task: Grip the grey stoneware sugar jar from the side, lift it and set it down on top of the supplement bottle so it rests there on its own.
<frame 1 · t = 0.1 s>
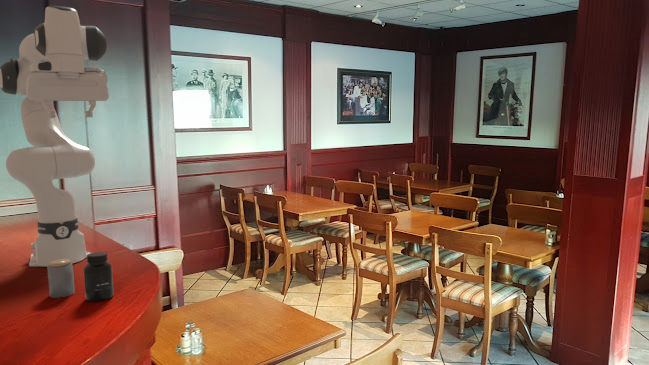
hand: (71, 117, 135), 48 cm above the bar counter, tool pointing down, fingers open, 8 cm apart
sugar jar: (62, 294, 132), on the bar counter
supplement bottle: (100, 298, 129), on the bar counter
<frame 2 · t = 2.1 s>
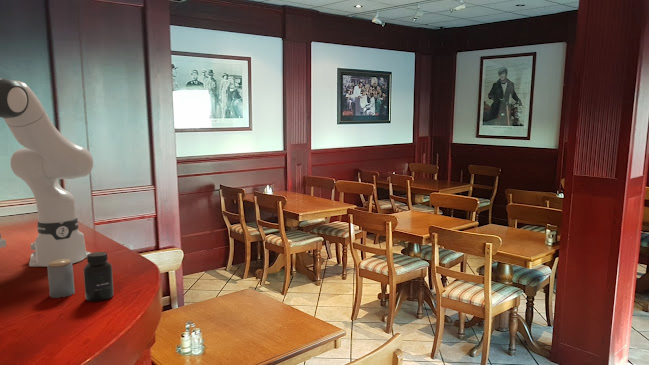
hand: (3, 239, 122), 18 cm above the bar counter, tool horizontal, fingers open, 8 cm apart
nothing on the bar counter moved.
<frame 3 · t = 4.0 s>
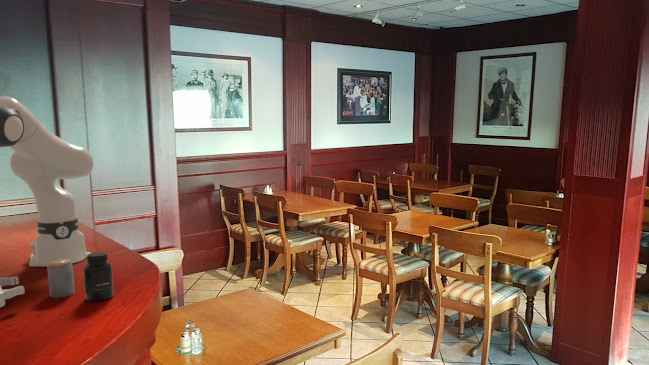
hand: (21, 284, 126), 5 cm above the bar counter, tool horizontal, fingers open, 8 cm apart
nothing on the bar counter moved.
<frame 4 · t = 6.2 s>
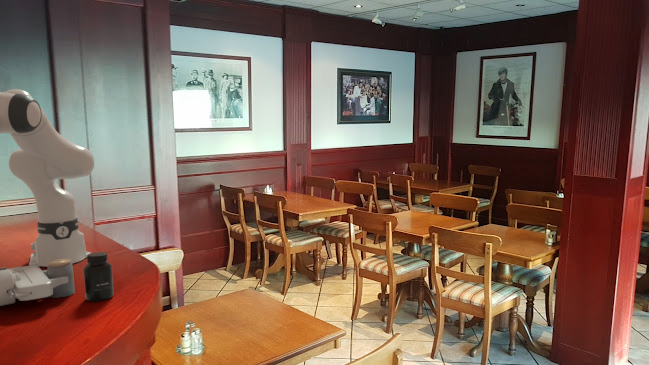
hand: (64, 275, 132), 5 cm above the bar counter, tool horizontal, fingers closed on sugar jar, 6 cm apart
sugar jar: (62, 294, 132), on the bar counter, touching gripper
everything else where it was.
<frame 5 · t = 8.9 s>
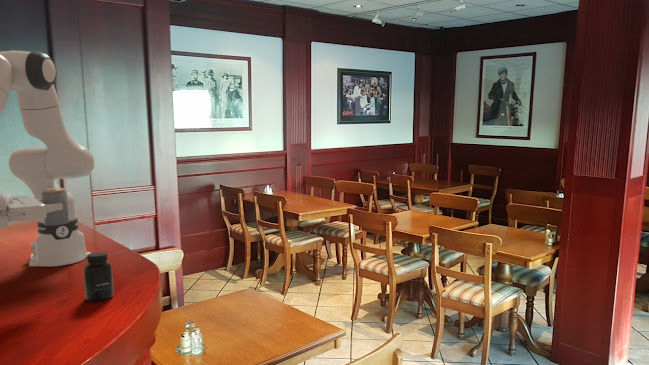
hand: (59, 204, 130), 25 cm above the bar counter, tool horizontal, fingers closed on sugar jar, 6 cm apart
sugar jar: (56, 223, 130), point 20 cm above the bar counter, touching gripper
everything else where it was.
when the fingers open (18 cm above the bar counter, at t = 11.7 s): sugar jar drops 1 cm, resting on supplement bottle.
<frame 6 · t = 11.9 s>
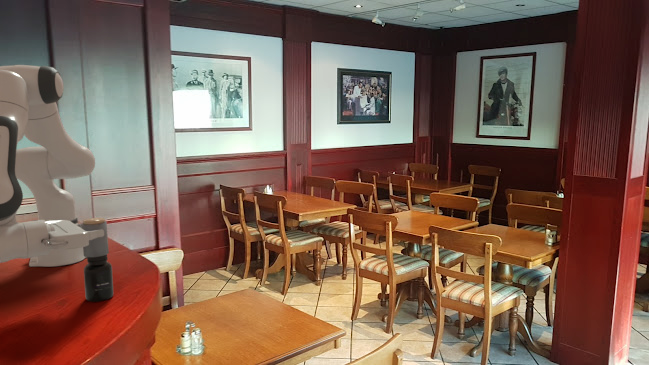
hand: (98, 229, 127), 18 cm above the bar counter, tool horizontal, fingers open, 8 cm apart
sugar jar: (96, 254, 128), point 12 cm above the bar counter, touching supplement bottle
supplement bottle: (100, 298, 129), on the bar counter, touching sugar jar
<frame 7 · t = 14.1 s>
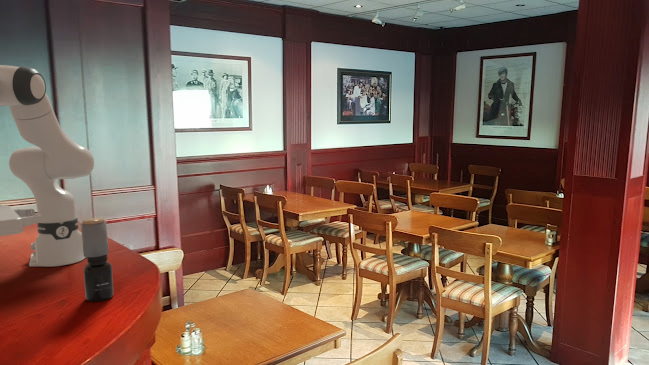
hand: (38, 215, 120), 24 cm above the bar counter, tool horizontal, fingers open, 8 cm apart
nothing on the bar counter moved.
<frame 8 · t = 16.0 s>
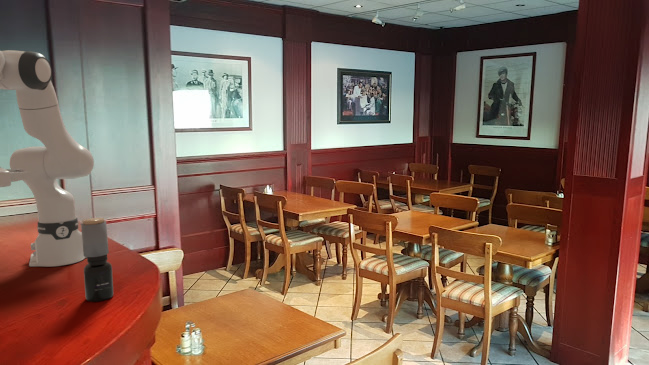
hand: (27, 173, 121), 34 cm above the bar counter, tool horizontal, fingers open, 8 cm apart
nothing on the bar counter moved.
at the end: sugar jar point 12.0 cm above the bar counter; sugar jar 0.1 cm from the supplement bottle (horizontally); sugar jar tilted 0° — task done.
